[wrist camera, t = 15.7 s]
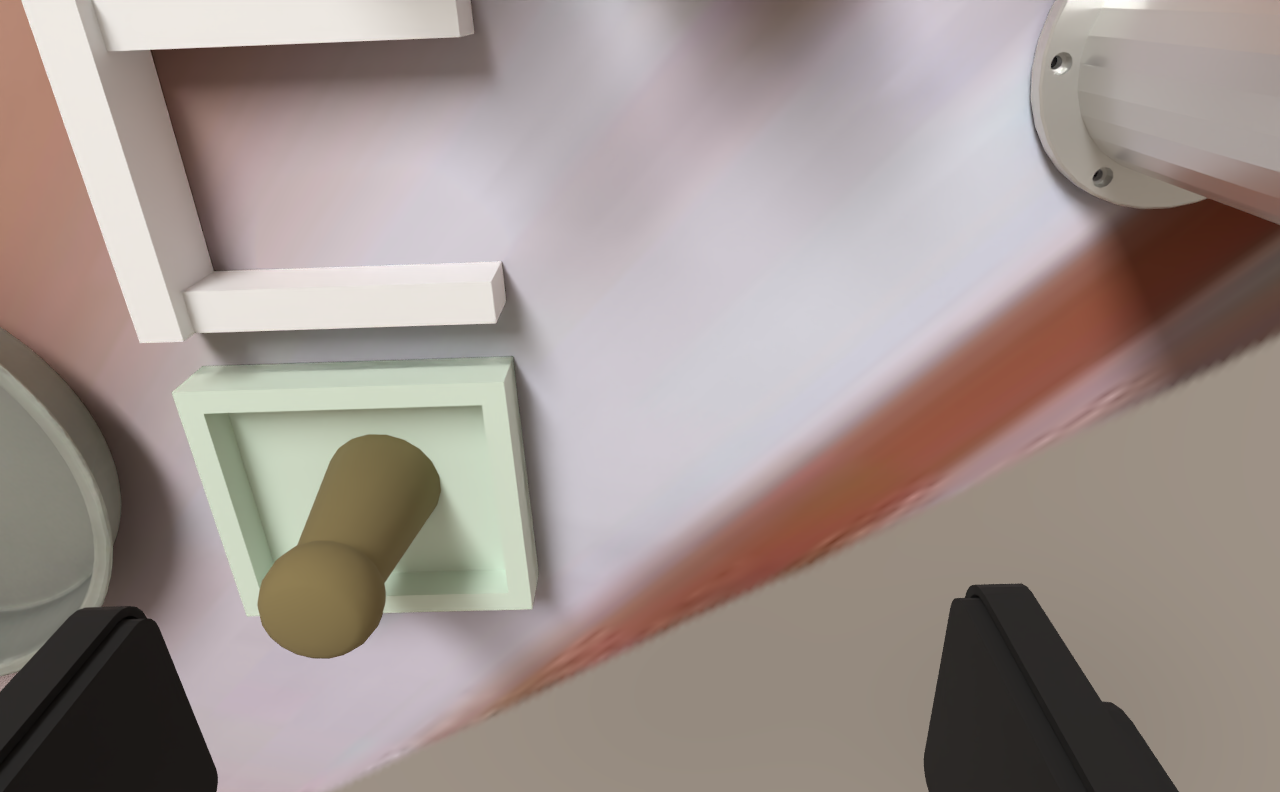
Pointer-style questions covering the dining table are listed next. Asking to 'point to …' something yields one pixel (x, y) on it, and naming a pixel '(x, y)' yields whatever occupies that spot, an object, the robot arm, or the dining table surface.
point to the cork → (349, 547)
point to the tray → (356, 406)
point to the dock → (157, 183)
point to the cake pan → (49, 505)
